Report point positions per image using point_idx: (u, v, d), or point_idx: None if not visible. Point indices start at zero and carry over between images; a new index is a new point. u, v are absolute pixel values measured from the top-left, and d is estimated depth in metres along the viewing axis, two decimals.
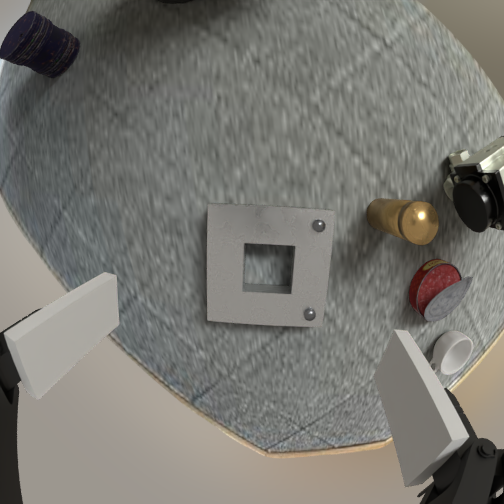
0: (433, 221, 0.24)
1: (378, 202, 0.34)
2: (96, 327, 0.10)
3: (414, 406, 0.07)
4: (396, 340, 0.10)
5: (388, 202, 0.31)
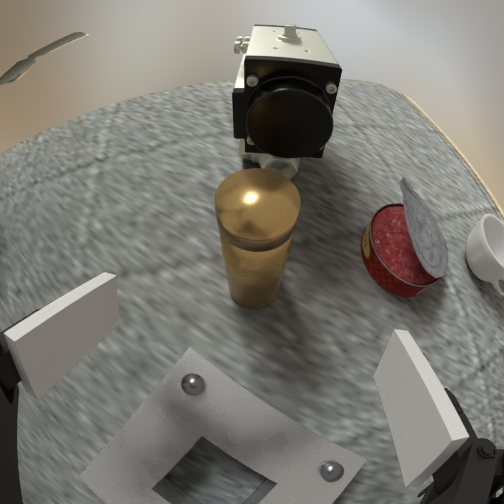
0: (267, 178, 0.15)
1: None
2: (96, 327, 0.10)
3: (414, 406, 0.07)
4: (396, 340, 0.10)
5: None
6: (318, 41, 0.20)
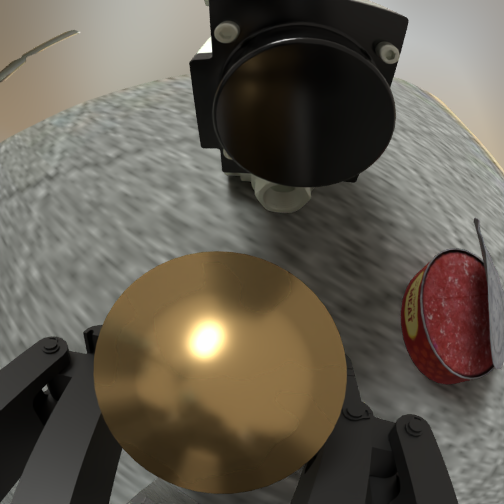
0: (248, 293, 0.05)
1: None
2: None
3: None
4: None
5: None
6: None
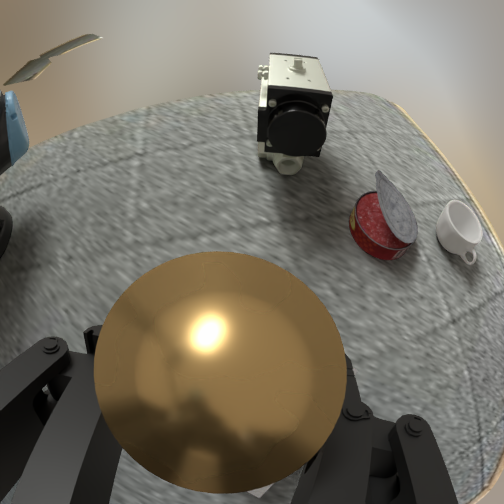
0: (248, 293, 0.05)
1: None
2: None
3: None
4: None
5: None
6: (318, 70, 0.29)
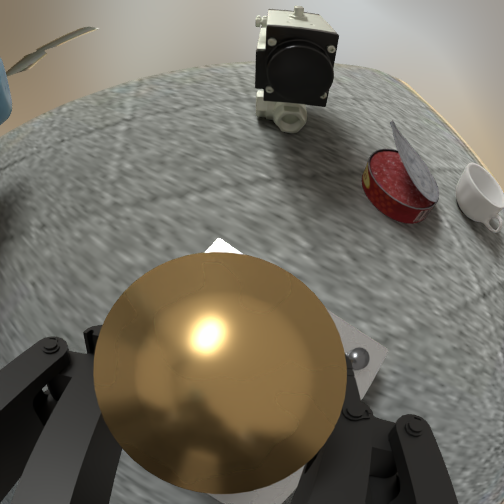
0: (248, 293, 0.05)
1: None
2: None
3: None
4: None
5: None
6: (320, 20, 0.23)
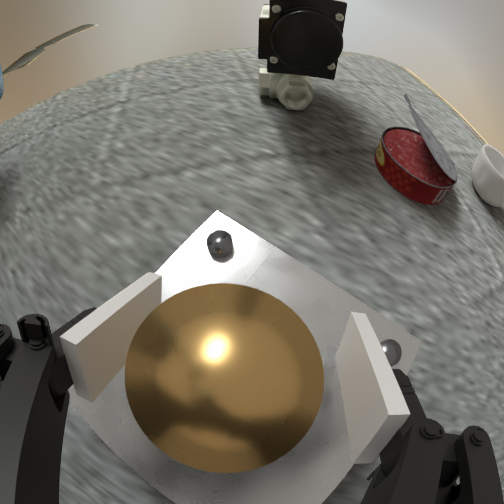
0: (247, 317, 0.06)
1: None
2: None
3: (361, 383, 0.08)
4: (352, 321, 0.11)
5: None
6: None
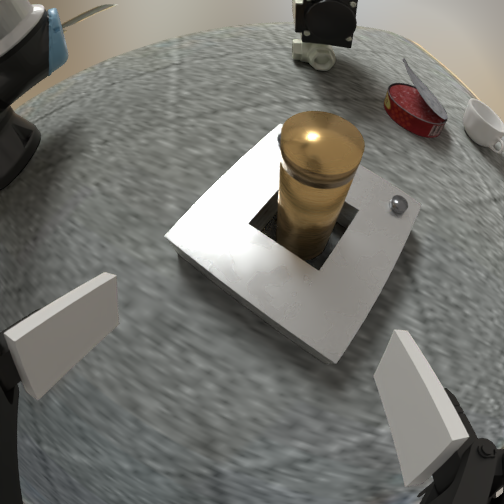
0: (330, 120, 0.14)
1: (277, 226, 0.22)
2: (96, 327, 0.10)
3: (414, 406, 0.07)
4: (396, 340, 0.10)
5: (278, 203, 0.19)
6: None
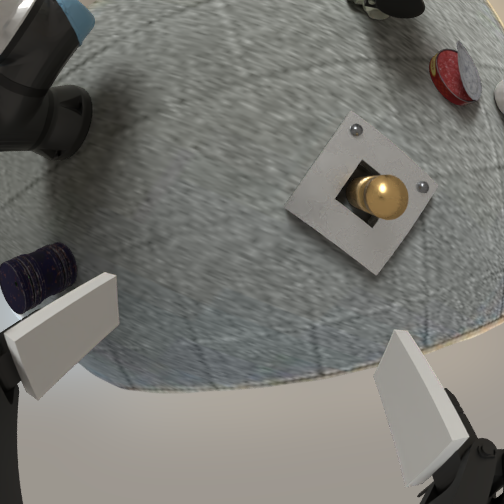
0: (393, 183, 0.24)
1: (349, 195, 0.34)
2: (96, 327, 0.10)
3: (414, 406, 0.07)
4: (396, 340, 0.10)
5: (354, 195, 0.31)
6: None
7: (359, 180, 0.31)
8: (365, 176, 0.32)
